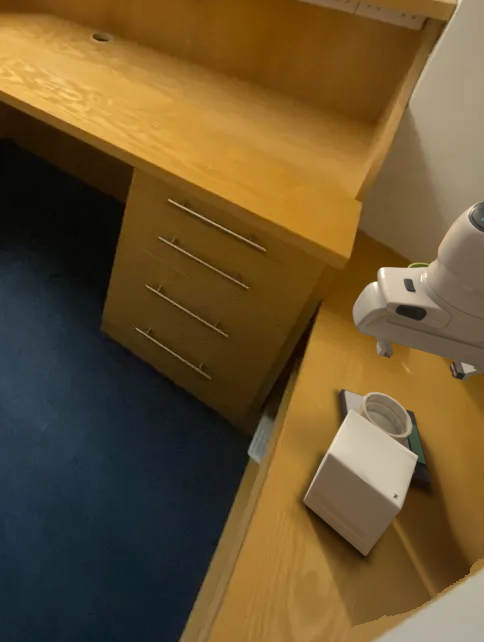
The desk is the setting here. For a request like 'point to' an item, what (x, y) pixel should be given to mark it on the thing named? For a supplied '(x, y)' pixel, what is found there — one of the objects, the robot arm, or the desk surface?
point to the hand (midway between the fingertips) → (418, 363)
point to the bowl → (386, 415)
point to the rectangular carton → (361, 482)
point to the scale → (412, 443)
